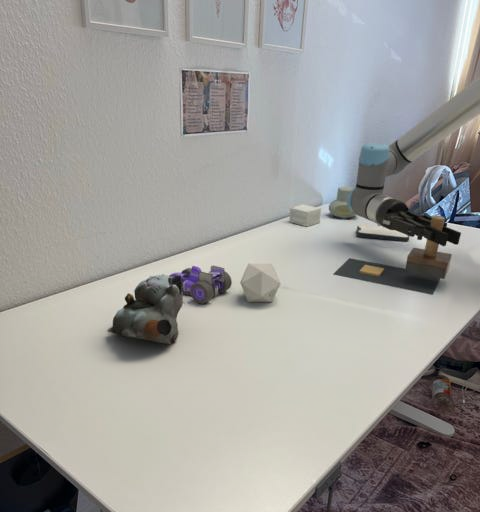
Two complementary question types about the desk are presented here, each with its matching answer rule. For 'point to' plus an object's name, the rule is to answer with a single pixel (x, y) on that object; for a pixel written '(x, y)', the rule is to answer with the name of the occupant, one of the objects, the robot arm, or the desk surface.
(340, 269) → the mat
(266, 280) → the die
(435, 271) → the wooden peg stand
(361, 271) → the pad
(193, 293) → the toy race car
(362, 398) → the desk surface
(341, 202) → the air freshener
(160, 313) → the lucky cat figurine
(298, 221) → the small box
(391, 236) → the phone case
